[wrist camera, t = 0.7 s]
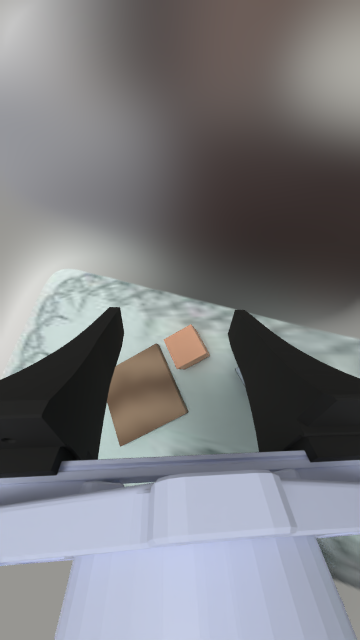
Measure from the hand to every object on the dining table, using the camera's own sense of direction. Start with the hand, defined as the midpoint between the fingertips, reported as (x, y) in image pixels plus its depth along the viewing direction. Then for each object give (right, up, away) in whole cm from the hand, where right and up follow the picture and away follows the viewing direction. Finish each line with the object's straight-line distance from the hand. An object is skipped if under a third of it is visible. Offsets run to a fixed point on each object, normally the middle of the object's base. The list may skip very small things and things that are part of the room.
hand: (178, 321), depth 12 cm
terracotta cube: (+2, -4, +15) cm, 15 cm away
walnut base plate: (-5, -10, +15) cm, 19 cm away
